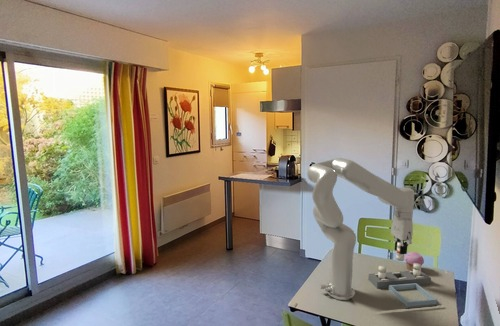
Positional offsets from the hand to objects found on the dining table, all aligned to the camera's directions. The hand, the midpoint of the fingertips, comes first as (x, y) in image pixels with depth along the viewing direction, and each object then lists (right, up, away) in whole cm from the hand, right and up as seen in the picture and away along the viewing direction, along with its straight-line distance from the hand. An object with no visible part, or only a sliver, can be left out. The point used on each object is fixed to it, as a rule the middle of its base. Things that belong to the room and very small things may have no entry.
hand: (400, 251), depth 151 cm
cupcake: (+14, -14, +15) cm, 25 cm away
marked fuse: (0, -4, +1) cm, 4 cm away
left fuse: (-9, -15, +1) cm, 17 cm away
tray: (0, -18, -10) cm, 21 cm away
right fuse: (+9, -15, +4) cm, 18 cm away
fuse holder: (0, -16, +2) cm, 16 cm away
